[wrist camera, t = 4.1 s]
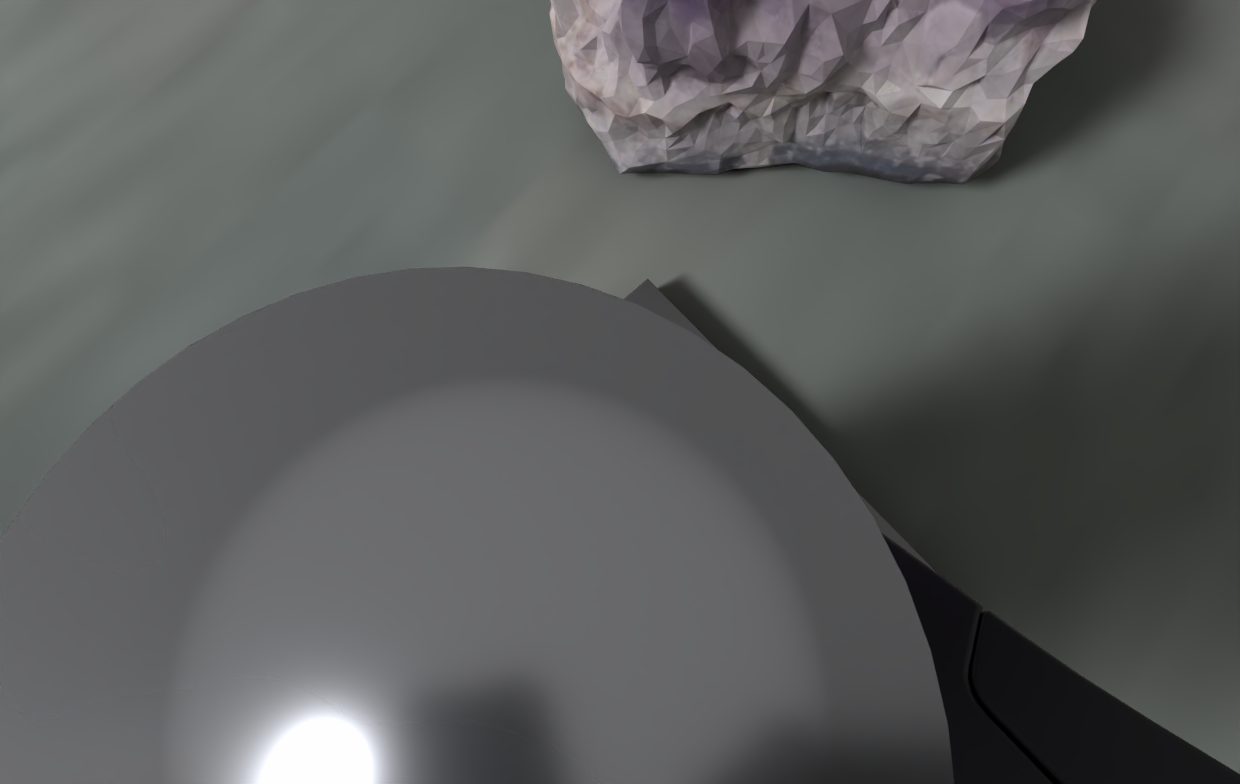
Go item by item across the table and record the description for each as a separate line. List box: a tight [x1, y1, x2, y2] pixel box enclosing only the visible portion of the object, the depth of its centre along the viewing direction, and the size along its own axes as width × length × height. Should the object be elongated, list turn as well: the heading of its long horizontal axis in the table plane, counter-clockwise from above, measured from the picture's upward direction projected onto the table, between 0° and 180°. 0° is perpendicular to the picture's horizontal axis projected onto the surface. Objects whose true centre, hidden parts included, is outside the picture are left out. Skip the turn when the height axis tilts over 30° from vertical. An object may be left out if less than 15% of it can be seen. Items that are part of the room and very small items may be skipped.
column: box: [0, 267, 954, 784], centre depth 8 cm, size 4×4×12 cm
